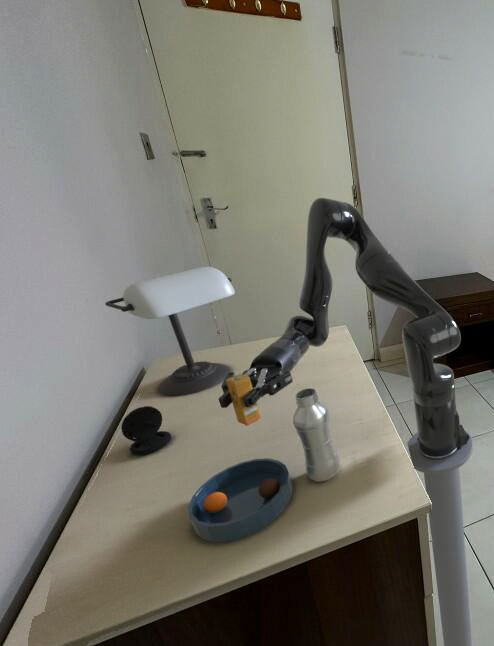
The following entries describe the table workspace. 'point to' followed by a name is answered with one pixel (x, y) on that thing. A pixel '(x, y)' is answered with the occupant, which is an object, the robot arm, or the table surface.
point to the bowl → (240, 500)
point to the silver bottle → (315, 436)
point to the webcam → (145, 430)
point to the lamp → (168, 300)
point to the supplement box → (238, 390)
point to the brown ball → (269, 488)
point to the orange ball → (215, 502)
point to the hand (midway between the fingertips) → (234, 403)
